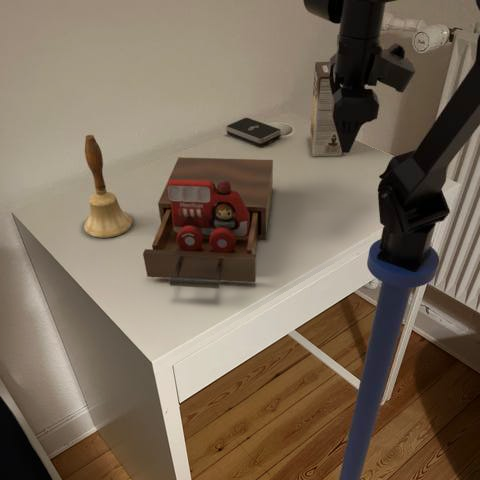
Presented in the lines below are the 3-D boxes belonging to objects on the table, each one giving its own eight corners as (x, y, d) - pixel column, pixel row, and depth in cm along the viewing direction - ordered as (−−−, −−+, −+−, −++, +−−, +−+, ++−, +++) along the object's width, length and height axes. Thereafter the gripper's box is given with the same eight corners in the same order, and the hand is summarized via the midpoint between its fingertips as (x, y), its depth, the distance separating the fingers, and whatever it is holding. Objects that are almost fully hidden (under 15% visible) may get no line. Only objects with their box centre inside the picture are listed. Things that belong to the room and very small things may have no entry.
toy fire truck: (247, 256, 78) (246, 195, 70) (168, 251, 79) (159, 191, 72) (251, 231, 83) (251, 171, 75) (177, 227, 84) (170, 169, 77)
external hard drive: (246, 125, 119) (246, 117, 117) (282, 138, 113) (282, 129, 112) (225, 134, 115) (225, 126, 114) (261, 148, 109) (261, 139, 108)
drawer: (252, 301, 71) (252, 277, 69) (139, 295, 73) (134, 271, 70) (263, 225, 86) (263, 202, 83) (169, 221, 87) (166, 199, 84)
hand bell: (124, 208, 93) (106, 121, 82) (138, 230, 87) (121, 140, 76) (79, 220, 90) (55, 132, 79) (91, 243, 85) (66, 152, 74)
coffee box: (308, 138, 113) (314, 60, 102) (337, 138, 112) (346, 60, 101) (312, 157, 106) (318, 76, 95) (343, 156, 106) (353, 75, 95)
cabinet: (265, 239, 84) (266, 207, 80) (162, 235, 86) (157, 203, 82) (272, 190, 96) (273, 159, 92) (181, 187, 98) (178, 157, 94)
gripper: (429, 57, 64) (402, 169, 75) (408, 14, 77) (387, 115, 88) (340, 55, 65) (326, 167, 76) (334, 12, 78) (323, 113, 89)
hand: (344, 138), depth 82 cm, fingers open, 9 cm apart
